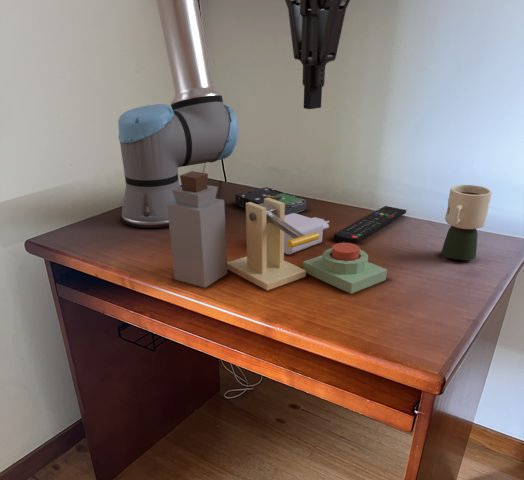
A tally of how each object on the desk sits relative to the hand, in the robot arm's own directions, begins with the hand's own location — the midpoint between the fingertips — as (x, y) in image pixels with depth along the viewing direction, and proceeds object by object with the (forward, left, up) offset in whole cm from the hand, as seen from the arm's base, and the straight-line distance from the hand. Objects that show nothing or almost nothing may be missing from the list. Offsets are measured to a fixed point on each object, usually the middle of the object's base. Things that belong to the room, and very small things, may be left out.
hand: (312, 107), depth 93 cm
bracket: (+2, -12, -26) cm, 29 cm away
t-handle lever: (+6, -12, -17) cm, 22 cm away
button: (+12, -2, -23) cm, 26 cm away
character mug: (+20, +21, -27) cm, 39 cm away
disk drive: (-27, +13, -27) cm, 40 cm away
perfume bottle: (-4, -22, -27) cm, 35 cm away
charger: (-6, +4, -27) cm, 28 cm away
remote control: (-2, +21, -27) cm, 34 cm away
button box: (+12, -2, -26) cm, 29 cm away
